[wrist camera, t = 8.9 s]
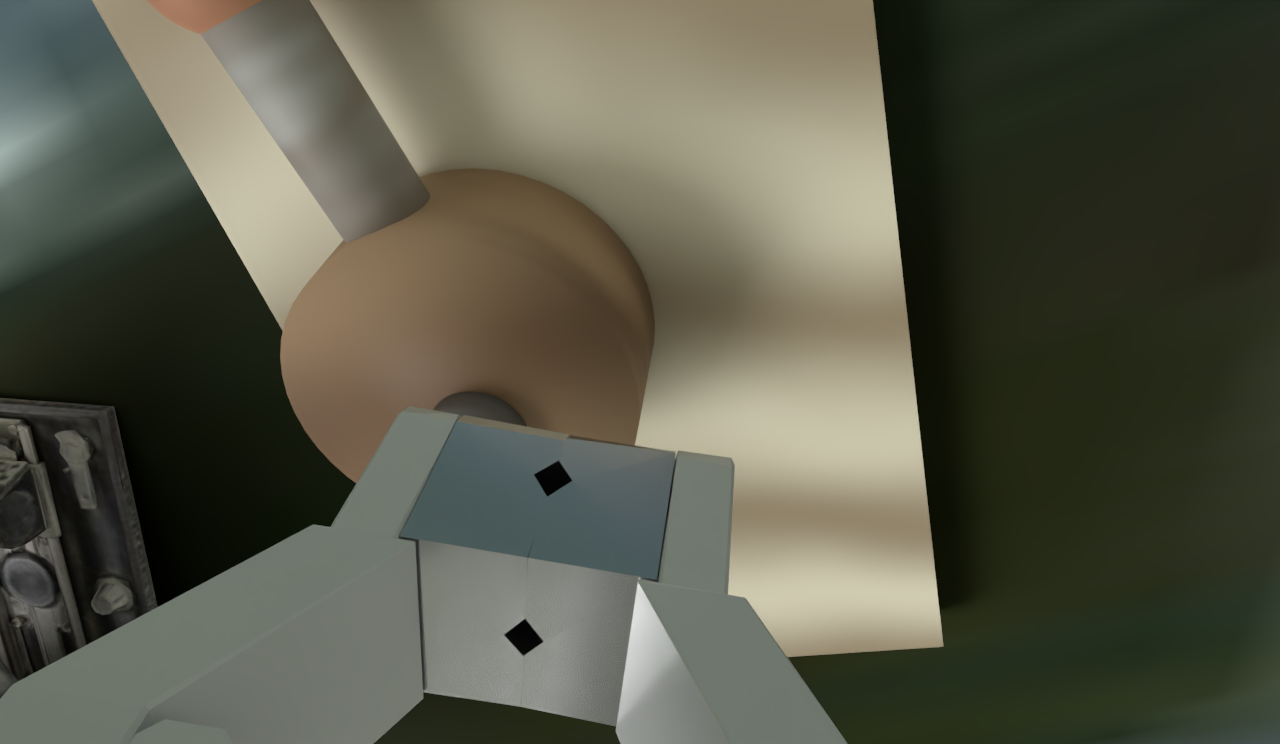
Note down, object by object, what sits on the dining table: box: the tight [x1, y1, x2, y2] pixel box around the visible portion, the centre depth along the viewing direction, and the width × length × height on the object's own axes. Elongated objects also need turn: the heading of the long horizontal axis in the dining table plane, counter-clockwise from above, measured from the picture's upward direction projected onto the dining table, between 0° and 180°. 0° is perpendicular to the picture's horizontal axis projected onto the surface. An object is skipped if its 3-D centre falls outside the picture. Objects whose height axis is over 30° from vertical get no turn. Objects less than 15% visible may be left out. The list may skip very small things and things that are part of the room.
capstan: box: [147, 0, 655, 483], centre depth 16 cm, size 13×7×4 cm, turn 25°
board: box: [92, 0, 943, 657], centre depth 20 cm, size 24×14×2 cm, turn 15°
